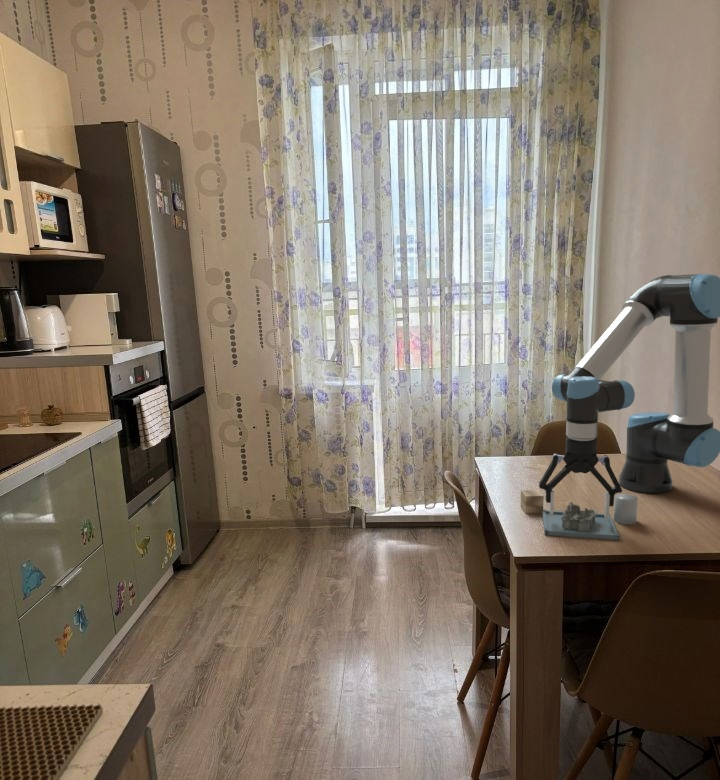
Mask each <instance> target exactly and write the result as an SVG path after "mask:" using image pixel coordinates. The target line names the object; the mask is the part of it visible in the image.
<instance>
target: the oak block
mask: <svg viewBox="0 0 720 780" xmlns="http://www.w3.org/2000/svg"><path fill="white" fill-rule="evenodd" d="M544 497H545V495H543V493H542V492H541V491H540V490H539V489H528V490H520V508H521V509H522V510H523V512H524V513H525V514H538V513H539V514H540V513H541V514H542V510H544V499H545V498H544Z"/></svg>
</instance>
